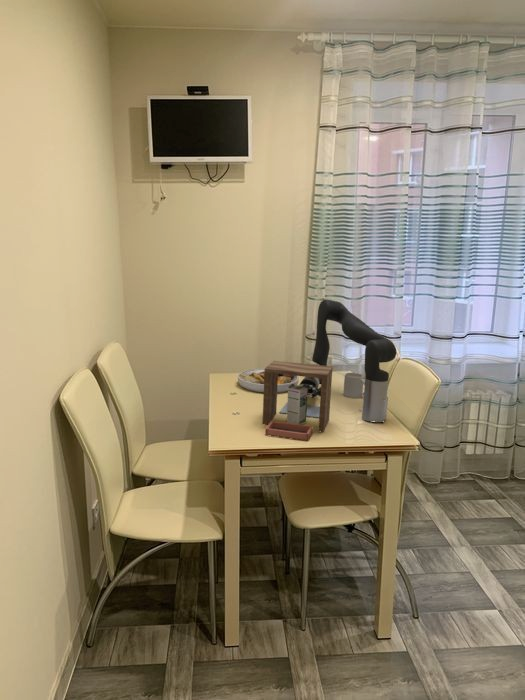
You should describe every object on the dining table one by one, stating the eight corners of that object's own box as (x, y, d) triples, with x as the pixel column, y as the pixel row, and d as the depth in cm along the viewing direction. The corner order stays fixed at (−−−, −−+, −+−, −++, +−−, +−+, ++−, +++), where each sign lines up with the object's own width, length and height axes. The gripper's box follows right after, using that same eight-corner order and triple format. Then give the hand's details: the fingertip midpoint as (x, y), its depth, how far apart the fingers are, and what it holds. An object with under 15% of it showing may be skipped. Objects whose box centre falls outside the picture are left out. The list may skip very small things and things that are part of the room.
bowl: (270, 399, 236) (271, 382, 234) (224, 385, 256) (225, 369, 254) (310, 387, 258) (311, 371, 256) (265, 375, 277) (266, 360, 276)
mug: (341, 392, 249) (342, 372, 247) (360, 392, 250) (362, 372, 248) (347, 399, 239) (348, 378, 237) (367, 399, 240) (369, 378, 238)
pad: (286, 403, 229) (286, 402, 229) (327, 408, 225) (327, 407, 225) (279, 413, 216) (279, 412, 216) (322, 418, 211) (322, 417, 211)
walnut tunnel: (271, 413, 216) (273, 360, 211) (328, 420, 210) (332, 366, 205) (262, 424, 203) (264, 368, 198) (323, 432, 197) (327, 375, 192)
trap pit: (271, 427, 200) (271, 420, 200) (312, 432, 196) (312, 426, 196) (265, 435, 192) (265, 428, 191) (307, 441, 188) (308, 434, 187)
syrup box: (298, 426, 202) (300, 390, 199) (286, 422, 206) (287, 387, 203) (306, 422, 207) (308, 387, 204) (294, 419, 210) (295, 384, 207)
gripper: (294, 374, 231) (286, 384, 215) (326, 378, 227) (320, 387, 212) (293, 391, 232) (285, 401, 217) (325, 394, 229) (319, 405, 213)
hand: (302, 394), depth 214 cm, fingers open, 8 cm apart
